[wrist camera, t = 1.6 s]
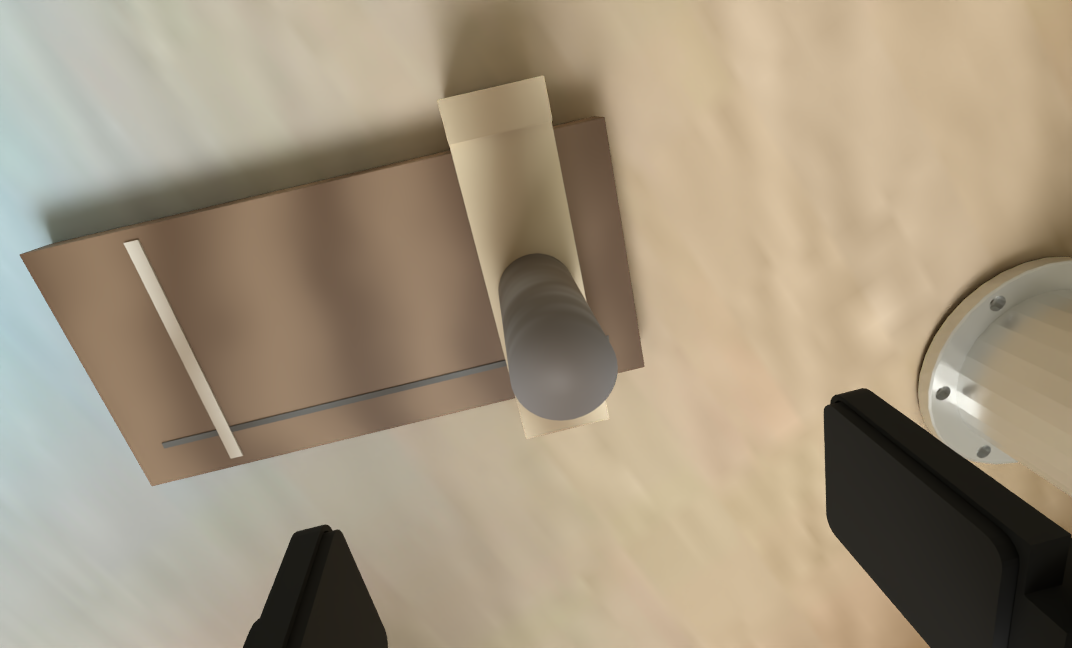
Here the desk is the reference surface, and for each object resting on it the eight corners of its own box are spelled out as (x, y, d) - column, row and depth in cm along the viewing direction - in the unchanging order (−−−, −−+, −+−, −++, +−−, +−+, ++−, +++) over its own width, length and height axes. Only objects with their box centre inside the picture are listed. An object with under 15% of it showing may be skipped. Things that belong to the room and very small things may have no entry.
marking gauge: (532, 79, 25) (579, 61, 14) (592, 380, 31) (661, 539, 20) (442, 100, 25) (419, 99, 14) (519, 398, 31) (546, 567, 20)
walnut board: (594, 116, 26) (604, 117, 24) (634, 350, 31) (645, 367, 29) (52, 243, 26) (17, 255, 24) (171, 462, 30) (150, 487, 28)
